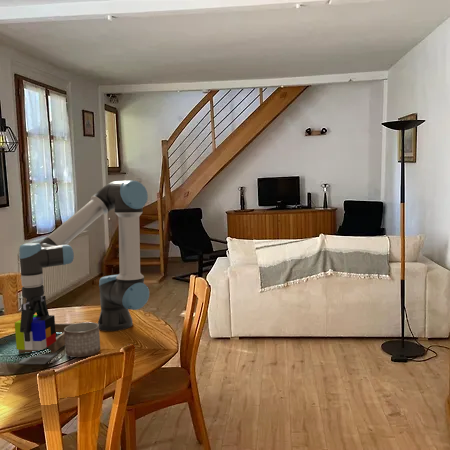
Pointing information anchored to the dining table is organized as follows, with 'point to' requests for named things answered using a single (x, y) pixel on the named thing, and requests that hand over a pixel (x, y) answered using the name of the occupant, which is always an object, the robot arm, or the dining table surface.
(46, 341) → the puzzle toy
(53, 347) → the pocket frame
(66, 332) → the planter
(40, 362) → the mat
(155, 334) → the dining table surface
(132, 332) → the dining table surface
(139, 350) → the dining table surface
